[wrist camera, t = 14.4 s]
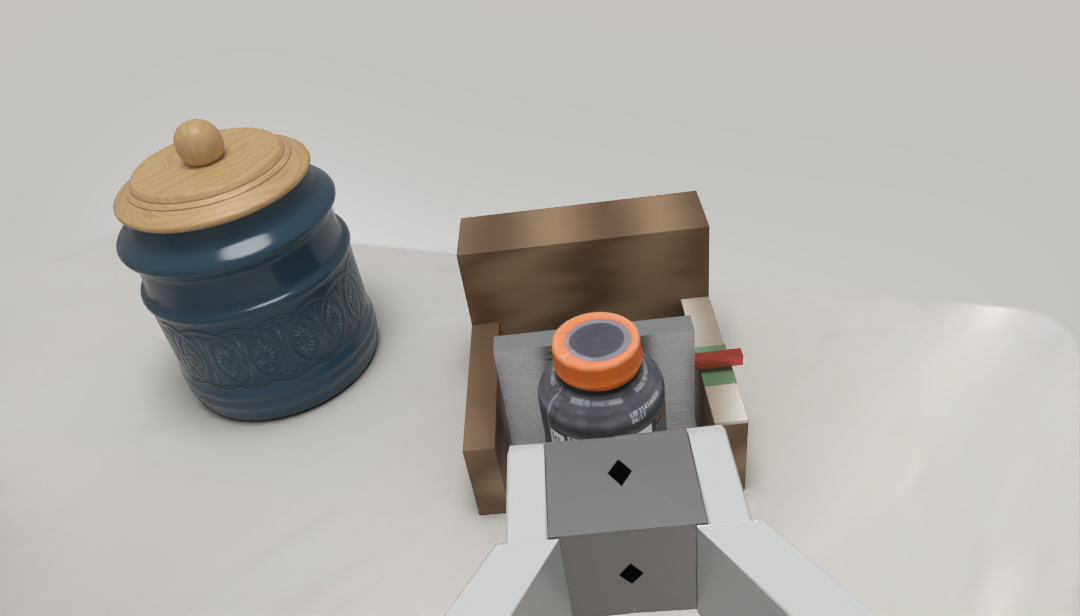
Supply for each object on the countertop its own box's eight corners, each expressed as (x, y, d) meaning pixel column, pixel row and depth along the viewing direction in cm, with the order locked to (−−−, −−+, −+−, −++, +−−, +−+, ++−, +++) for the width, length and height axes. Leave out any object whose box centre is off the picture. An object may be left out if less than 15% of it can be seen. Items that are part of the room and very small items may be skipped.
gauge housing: (479, 514, 42) (442, 377, 36) (487, 345, 53) (461, 218, 47) (744, 489, 41) (752, 344, 35) (696, 322, 52) (696, 190, 46)
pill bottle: (591, 443, 45) (571, 283, 38) (687, 478, 42) (685, 313, 35) (536, 520, 41) (504, 359, 34) (638, 565, 38) (625, 398, 31)
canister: (332, 280, 62) (255, 60, 51) (416, 356, 53) (345, 111, 42) (169, 360, 56) (45, 132, 45) (233, 459, 47) (99, 206, 37)
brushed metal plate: (515, 459, 44) (493, 351, 39) (515, 443, 45) (493, 336, 40) (740, 437, 43) (746, 324, 38) (735, 421, 44) (740, 309, 39)
